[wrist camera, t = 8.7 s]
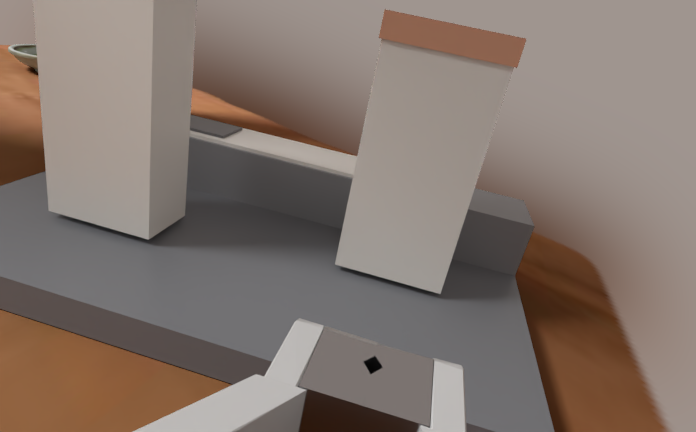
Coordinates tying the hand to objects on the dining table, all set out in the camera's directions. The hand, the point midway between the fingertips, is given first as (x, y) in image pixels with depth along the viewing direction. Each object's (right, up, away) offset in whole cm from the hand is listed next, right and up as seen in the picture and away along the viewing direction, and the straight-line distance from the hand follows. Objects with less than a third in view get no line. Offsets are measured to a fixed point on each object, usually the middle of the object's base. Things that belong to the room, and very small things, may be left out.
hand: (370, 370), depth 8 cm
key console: (-5, 0, +15) cm, 16 cm away
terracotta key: (+2, 0, +14) cm, 14 cm away
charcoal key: (-11, +3, +14) cm, 18 cm away
